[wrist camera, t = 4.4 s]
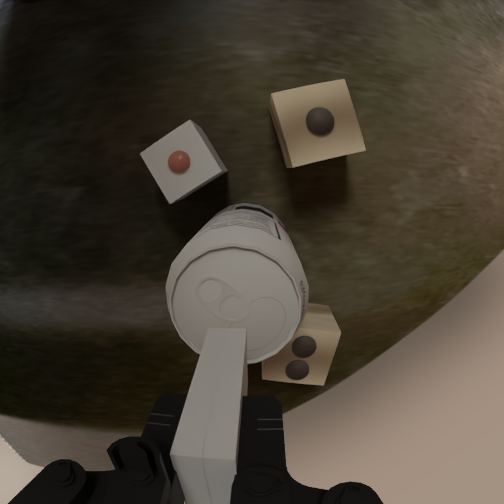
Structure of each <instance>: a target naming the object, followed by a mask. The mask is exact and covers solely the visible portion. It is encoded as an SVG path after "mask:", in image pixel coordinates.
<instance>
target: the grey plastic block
mask: <svg viewBox="0 0 504 504" xmlns="http://www.w3.org/2000/svg"><path fill="white" fill-rule="evenodd" d="M140 155H141V157H142V158H143V160H144V162H145V164H146V165H147V167H148V169H149V170H150V172H151V174H152V175H153V177H154V179H155V180H156V182H157V184H158V185H159V187H160V189H161V190H162V192H163V194H164V195H165V197H166V199H167V200H168V202H169V204H171V203H174V202H176V201H179V200H182V199H184V198H185V197H187V196H189V195H190V194H192V193H193V192H195V191H196V190H198V189H200V188H201V187H203V186H204V185H206V184H208V183H209V182H211V181H212V180H214V179H216V178H217V177H219V176H221V175H222V174H224V173H226V172H227V169H226V167H225V166H224V164H223V162H222V161H221V159H220V158H219V156H218V154H217V153H216V151H215V149H214V148H213V146H212V145H211V143H210V141H209V140H208V138H207V136H206V135H205V133H204V132H203V130H202V128H201V127H200V126H198V125H197V124H196V123H194V122H193V121H191V120H189V121H187V122H185V123H184V124H182V125H181V126H179V127H178V128H176V129H175V130H173V131H172V132H170V133H169V134H167V135H166V136H164V137H163V138H161V139H160V140H158V141H157V142H156V143H154V144H153V145H151V146H150V147H148V148H147V149H146V150H144V151H143V152H141V153H140Z"/></svg>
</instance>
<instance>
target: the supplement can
mask: <svg viewBox="0 0 504 504" xmlns="http://www.w3.org/2000/svg"><path fill="white" fill-rule="evenodd" d="M165 287H166V297H167V306H168V310H169V312H170V314H171V320H172V322H173V324H174V326H175V328H176V330H177V332H178V333H179V335H180V337H181V338H182V339H183V340H184V341H185V342H186V343H187V344H188V345H189V346H190V347H191V348H192V349H193V350H194V351H195V352H196V353H198V354H201V351H202V347H203V344H204V341H205V338H206V335H207V332H208V329H209V328H246V329H247V364H251V363H258V362H260V361H262V360H264V359H266V358H268V357H271V356H273V355H275V354H277V353H278V352H279V351H280V350H281V349H282V348H283V347H284V346H285V345H286V344H287V343H288V342H289V341H290V340H291V339H292V337H293V335H294V334H295V333H296V332H297V331H298V330H299V327H300V325H301V323H302V321H303V319H304V317H305V314H306V312H307V310H308V293H309V286H308V283H307V280H306V277H305V274H304V271H303V268H302V265H301V262H300V260H299V258H298V256H297V253H296V251H295V249H294V247H293V244H292V242H291V240H290V238H289V235H288V233H287V231H286V229H285V227H284V225H283V223H282V222H281V221H280V220H279V219H278V217H277V216H276V215H275V214H274V213H273V212H271V211H269V210H268V209H266V208H264V207H262V206H261V205H255V204H249V203H241V204H236V205H230V206H228V207H227V208H225V209H223V210H222V211H220V212H218V213H217V214H216V215H215V216H214V217H213V218H212V219H211V220H210V221H209V222H208V223H207V224H206V225H205V226H204V227H203V228H202V229H201V230H200V231H199V232H198V233H197V234H196V235H195V236H194V237H193V238H192V239H191V240H190V241H189V242H188V243H187V244H186V245H185V247H184V248H183V249H182V251H181V252H180V253H179V255H178V256H177V257H176V259H175V260H174V261H173V263H172V264H171V268H170V271H169V275H168V278H167V282H166V286H165Z"/></svg>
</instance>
